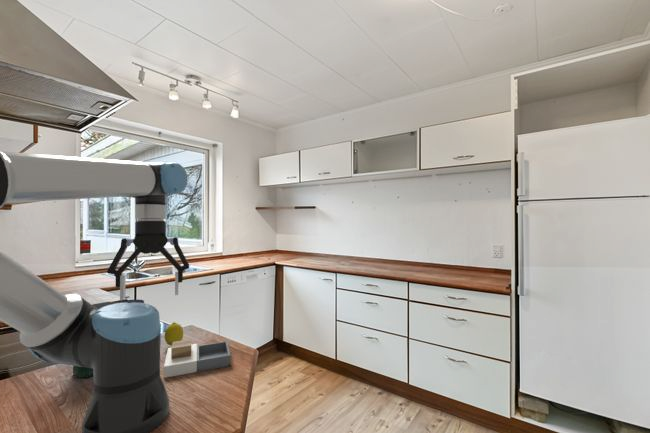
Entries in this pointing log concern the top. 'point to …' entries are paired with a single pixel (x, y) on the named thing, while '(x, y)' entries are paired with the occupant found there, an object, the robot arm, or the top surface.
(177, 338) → the lemon
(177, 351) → the brown wooden block
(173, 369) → the board
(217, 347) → the tray
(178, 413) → the top surface
